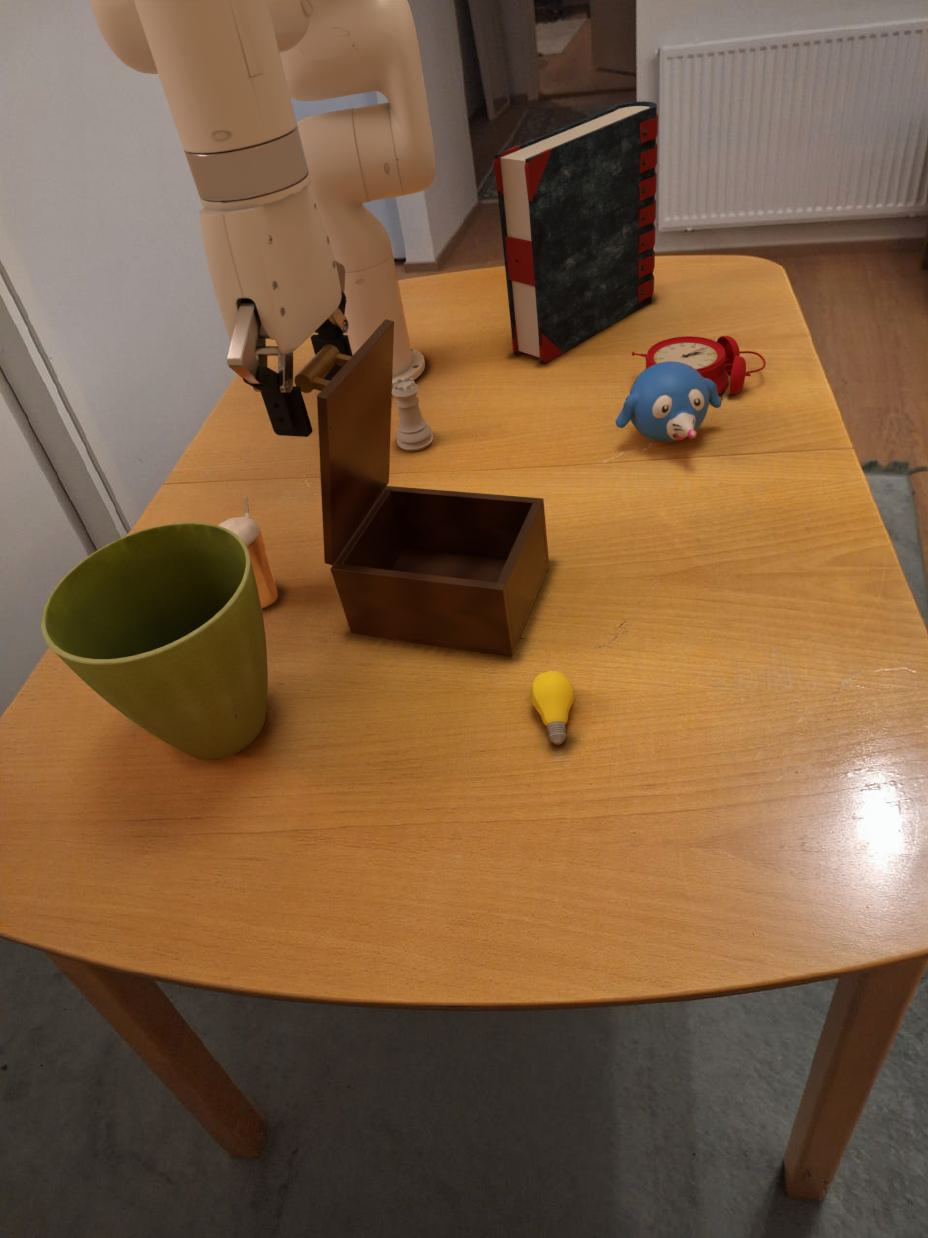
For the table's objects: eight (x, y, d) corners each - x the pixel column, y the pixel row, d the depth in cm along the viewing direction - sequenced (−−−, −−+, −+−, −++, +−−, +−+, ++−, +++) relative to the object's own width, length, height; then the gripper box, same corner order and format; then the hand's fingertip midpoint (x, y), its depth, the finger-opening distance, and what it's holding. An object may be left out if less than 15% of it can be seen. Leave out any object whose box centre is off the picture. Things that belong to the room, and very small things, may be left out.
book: (627, 288, 122) (627, 98, 106) (664, 297, 118) (670, 101, 101) (510, 354, 112) (489, 154, 95) (546, 366, 107) (531, 159, 91)
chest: (549, 564, 78) (543, 498, 72) (512, 657, 69) (502, 589, 64) (401, 548, 83) (386, 485, 77) (350, 633, 74) (329, 568, 69)
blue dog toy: (636, 482, 85) (637, 411, 80) (604, 428, 94) (603, 360, 88) (746, 460, 86) (754, 387, 80) (704, 408, 94) (709, 339, 89)
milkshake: (296, 580, 81) (266, 499, 74) (271, 616, 78) (237, 534, 71) (258, 575, 83) (225, 495, 76) (231, 610, 79) (194, 529, 72)
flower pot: (274, 809, 61) (198, 665, 50) (102, 796, 64) (-4, 658, 54) (331, 665, 72) (278, 520, 61) (180, 660, 75) (105, 522, 64)
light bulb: (563, 683, 66) (576, 663, 63) (572, 752, 63) (586, 734, 60) (523, 682, 66) (534, 662, 63) (531, 751, 63) (543, 733, 60)
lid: (394, 320, 65) (342, 307, 66) (326, 398, 57) (267, 381, 57) (389, 482, 77) (345, 469, 78) (332, 566, 69) (283, 550, 69)
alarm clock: (626, 343, 101) (749, 302, 97) (637, 386, 105) (756, 349, 101) (636, 382, 94) (769, 340, 89) (647, 427, 98) (776, 389, 93)
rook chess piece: (440, 435, 98) (429, 374, 93) (423, 454, 95) (411, 393, 90) (408, 431, 100) (395, 371, 95) (391, 450, 97) (377, 389, 92)
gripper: (265, 135, 61) (324, 356, 73) (126, 216, 49) (224, 462, 61) (354, 128, 58) (400, 357, 70) (230, 211, 47) (311, 469, 59)
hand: (318, 405), depth 65 cm, fingers open, 7 cm apart
